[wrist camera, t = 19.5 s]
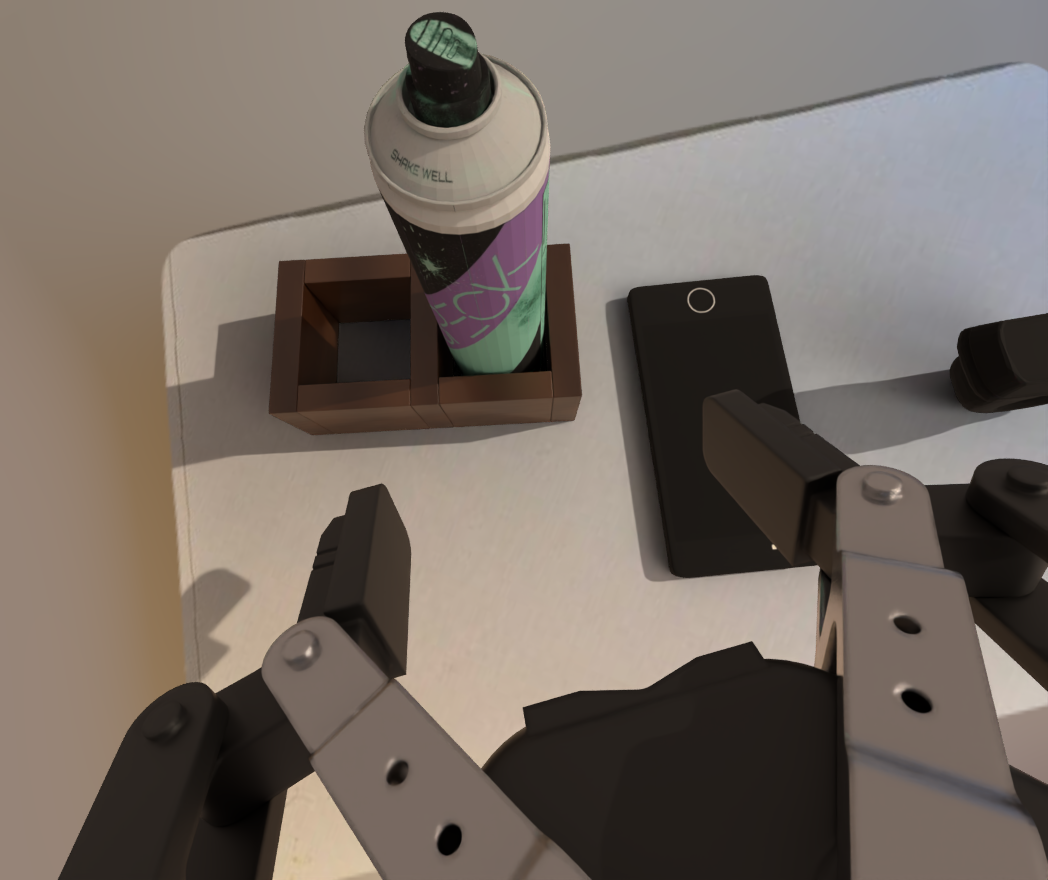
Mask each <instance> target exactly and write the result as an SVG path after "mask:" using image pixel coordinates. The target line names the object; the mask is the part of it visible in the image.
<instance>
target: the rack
mask: <svg viewBox="0 0 1048 880" xmlns="http://www.w3.org/2000/svg"><path fill="white" fill-rule="evenodd" d="M401 319H411V380H410V379H401V380H384V381H366V382H349V383H337V361H338V334H339V323H350V322H367V321H384V320H401ZM544 328H545V343H546V358H547V371H542V372H525V373H507V374H490V375H473V376H455V377H453V356H452V354H451V352H450V349H449V347H448V345H447V342H446V340H445V338H444V336H443V333H442V331H441V329H440V327H439V324H438V322H437V320H436V318H435V315H434V313H433V311H432V308H431V306H430V304H429V302H428V299H427V297H426V295H425V293H424V290H423V288H422V286H421V284H420V281H419V279H418V277H417V274H416V272H415V270H414V268H413V265H412V263H411V261H410V259H409V256H408V254H393V255H377V256H360V257H344V258H327V259H311V260H306V261H305V260H291V261H279V268H278V283H277V298H276V313H275V327H274V342H273V357H272V372H271V387H270V401H269V414H271V415H273V416H275V417H277V418H279V419H281V420H283V421H285V422H287V423H289V424H291V425H293V426H295V427H297V428H299V429H301V430H303V431H305V432H307V433H309V434H311V435H322V434H341V433H359V432H377V431H395V430H412V429H430V428H447V427H454V426H455V427H465V426H483V425H501V424H519V423H537V422H550V421H551V422H556V421H574V420H575V417H576V414H577V410H578V407H579V404H580V400H581V397H582V389H581V377H580V364H579V352H578V340H577V327H576V315H575V303H574V290H573V278H572V266H571V253H570V244H554V245H547V255H546V283H545V312H544Z"/></svg>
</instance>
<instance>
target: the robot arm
mask: <svg viewBox="0 0 1048 880" xmlns="http://www.w3.org/2000/svg"><path fill="white" fill-rule="evenodd" d="M703 455H704V459H705V462H706V464H707V467H708V469H709V470H710V472H711V473H712V474H713V476H714V477H715V478H716V479H717V480H718V481H719V482H720V484H721V485H722V486H723V487H724V488H725V489H726V490H727V492H728V493H729V494H730V495H731V496H732V497H733V498H734V500H735V501H736V502H737V503H738V504H739V505H740V507H741V508H742V509H743V510H744V511H745V512H746V513H747V515H748V516H749V517H750V518H751V519H752V520H753V521H754V523H755V524H756V525H757V526H758V527H759V528H760V529H761V531H762V532H763V533H764V534H765V535H766V536H767V537H768V539H769V540H770V541H771V542H772V543H773V544H774V546H775V547H776V548H777V549H778V550H779V551H780V552H781V554H782V555H783V556H784V557H785V558H786V559H787V560H788V562H789V563H790V564H791V565H792V566H796V565H800V564H803V563H807V562H811V561H814V562H815V563H816V564H817V565H818V566H819V567H820V572H819V577H818V601H817V630H816V653H815V663H814V667H813V666H809V665H806V664H802V663H797V662H792V661H787V660H777V659H764V658H763V657H762V655H761V654H760V652H759V651H758V649H757V648H756V646H755V645H754V643H753V642H752V641H751V642H748V643H744V644H741V645H737V646H734V647H730V648H727V649H723V650H720V651H717V652H713V653H710V654H706V655H703V656H699V657H696V658H695V659H693V660H691V661H690V662H688V663H687V664H685V665H683V666H682V667H680V668H678V669H677V670H675V671H674V672H672V673H670V674H669V675H667V676H666V677H664V678H662V679H661V680H659V681H658V682H656V683H654V684H653V685H651V686H649V687H647V688H645V689H639V690H600V691H578V692H574V693H571V694H567V695H564V696H561V697H557V698H554V699H550V700H547V701H543V702H540V703H536V704H533V705H529V706H526V707H523V712H524V718H525V724H526V727H524V728H523V729H521V730H520V731H518V732H517V733H515V734H514V735H513V736H511V737H510V738H509V739H508V740H506V741H505V742H504V743H503V744H502V745H501V746H500V747H499V748H498V749H497V750H496V751H495V752H494V753H493V754H492V755H491V757H490V758H489V759H488V761H487V762H486V763H485V764H484V766H483V767H482V768H480V767H479V766H478V765H477V764H476V763H475V762H474V761H473V760H472V759H471V758H470V757H469V756H468V755H467V754H466V753H465V752H464V751H463V749H462V748H461V747H460V746H459V745H458V744H457V743H456V742H455V741H454V740H453V739H452V738H451V737H450V736H449V735H448V734H447V733H446V732H445V730H444V729H443V728H442V727H441V726H440V725H439V724H438V723H437V722H436V721H435V720H434V719H433V718H432V717H431V716H430V715H429V714H428V713H427V711H426V710H425V709H424V708H423V707H422V706H421V705H420V704H419V703H418V702H417V701H416V700H415V699H414V698H413V697H412V696H411V695H410V694H409V693H408V691H407V690H406V689H405V688H404V687H403V686H402V685H401V684H400V683H399V682H398V681H397V680H396V679H394V678H396V677H399V676H403V675H406V664H407V641H408V617H409V594H410V570H411V547H410V541H409V537H408V534H407V531H406V528H405V526H404V524H403V522H402V520H401V518H400V515H399V513H398V511H397V509H396V507H395V505H394V502H393V500H392V498H391V496H390V494H389V492H388V490H387V488H386V486H385V485H384V484H378V485H375V486H371V487H367V488H363V489H360V490H356V491H352V492H351V493H350V496H349V500H348V504H347V509H346V513H345V515H343V516H339V517H336V518H334V519H333V520H332V521H331V523H330V524H329V526H328V527H327V528H326V530H325V531H324V532H323V534H322V535H321V538H320V542H319V545H318V549H317V556H315V560H314V563H313V570H312V571H311V574H310V578H309V581H308V585H307V589H306V592H305V596H304V599H303V603H302V607H301V610H300V614H299V617H298V621H297V624H295V625H293V626H292V627H290V628H289V629H287V630H286V631H285V632H284V633H282V634H281V635H280V636H279V637H278V638H277V639H276V640H275V642H274V643H273V644H272V645H271V647H270V648H269V650H268V651H267V653H266V655H265V658H264V660H263V664H262V667H261V668H260V669H258V670H256V671H255V672H253V673H251V674H250V675H248V676H246V677H244V678H242V679H241V680H239V681H237V682H235V683H233V684H232V685H230V686H228V687H226V688H224V689H223V690H221V691H219V692H217V693H214V692H213V691H212V690H211V689H210V688H209V687H208V686H207V685H206V684H203V683H200V682H191V683H186V684H183V685H180V686H178V687H175V688H173V689H172V690H170V691H168V692H166V693H165V694H163V695H162V696H160V697H159V698H157V699H156V700H155V701H154V702H153V703H151V704H150V705H149V706H148V707H147V708H146V709H145V710H144V711H143V712H142V713H141V714H140V715H139V716H138V717H137V719H136V720H135V721H134V722H133V724H132V725H131V727H130V728H129V730H128V731H127V733H126V735H125V737H124V739H123V741H122V743H121V745H120V747H119V750H118V752H117V754H116V756H115V758H114V760H113V762H112V765H111V767H110V769H109V771H108V773H107V775H106V777H105V780H104V782H103V784H102V786H101V788H100V790H99V793H98V795H97V797H96V799H95V801H94V803H93V805H92V808H91V810H90V812H89V814H88V816H87V818H86V820H85V823H84V825H83V827H82V829H81V831H80V833H79V835H78V837H77V840H76V842H75V844H74V846H73V848H72V851H71V853H70V855H69V857H68V859H67V861H66V864H65V865H64V868H63V870H62V872H61V874H60V876H59V878H58V880H272V877H273V872H274V866H275V860H276V854H277V848H278V842H279V836H280V830H281V824H282V818H283V813H284V807H285V801H286V795H287V789H288V788H289V787H291V786H293V785H294V784H296V783H297V782H299V781H300V780H302V779H303V778H305V777H306V776H308V775H310V774H311V773H313V772H314V771H315V772H316V773H317V775H318V777H319V778H320V780H321V781H322V783H323V785H324V786H325V788H326V789H327V791H328V793H329V794H330V796H331V797H332V799H333V801H334V802H335V804H336V805H337V807H338V809H339V810H340V812H341V813H342V815H343V817H344V818H345V820H346V821H347V823H348V825H349V826H350V828H351V830H352V831H353V833H354V834H355V836H356V838H357V839H358V841H359V842H360V844H361V846H362V847H363V849H364V850H365V852H366V854H367V855H368V857H369V858H370V860H371V862H372V863H373V865H374V866H375V868H376V870H377V871H378V873H379V874H380V876H381V878H382V879H383V880H1048V784H1046V783H1044V782H1042V781H1040V780H1038V779H1036V778H1034V777H1032V776H1030V775H1028V774H1026V773H1025V772H1022V771H1021V770H1019V769H1017V768H1015V767H1013V766H1011V765H1009V764H1008V761H1007V756H1006V752H1005V748H1004V744H1003V740H1002V735H1001V731H1000V727H999V723H998V719H997V715H996V710H995V706H994V702H993V698H992V694H991V689H990V685H989V681H988V677H987V673H986V669H985V664H984V660H983V656H982V652H981V648H980V644H979V639H978V635H977V631H976V627H975V624H976V625H978V626H979V627H980V628H981V629H982V630H983V631H984V632H985V633H986V634H987V635H988V636H989V637H990V638H991V639H992V640H993V641H994V642H996V643H997V644H998V645H999V646H1000V647H1001V648H1002V649H1003V650H1004V651H1005V652H1006V653H1007V654H1008V655H1009V656H1010V657H1011V658H1013V659H1014V660H1015V661H1016V662H1017V663H1018V664H1019V665H1020V666H1021V667H1022V668H1023V669H1024V670H1025V671H1026V672H1027V673H1028V674H1030V675H1031V676H1032V677H1033V678H1034V679H1035V680H1036V681H1037V682H1038V683H1039V684H1040V685H1041V686H1042V687H1043V688H1044V689H1045V690H1047V691H1048V582H1046V581H1045V580H1044V579H1042V576H1043V574H1044V572H1045V570H1046V569H1047V567H1048V465H1045V464H1042V463H1038V462H1034V461H1028V460H1021V459H995V460H990V461H986V462H984V463H982V464H980V465H979V466H978V467H977V468H976V469H975V471H974V474H973V477H972V479H971V482H970V484H947V485H924V484H922V483H921V482H920V481H919V480H918V479H916V478H915V477H913V476H911V475H910V474H908V473H905V472H903V471H900V470H897V469H894V468H890V467H885V466H877V465H863V466H860V465H858V464H857V463H856V462H854V461H853V460H852V459H850V458H849V457H848V456H846V455H845V454H844V453H842V452H841V451H839V450H838V449H837V448H835V447H834V446H833V445H831V444H830V443H829V442H827V441H826V440H824V439H823V438H822V437H820V436H819V435H818V434H814V433H813V431H812V430H811V429H809V428H808V427H807V426H805V425H804V424H802V425H801V423H800V421H799V420H797V419H796V418H795V417H793V416H792V415H790V414H789V413H788V412H786V411H785V410H782V409H779V408H777V407H774V406H771V405H768V404H765V403H761V404H757V403H756V402H754V401H753V400H752V399H750V398H749V397H748V396H747V395H745V394H744V393H743V392H741V391H740V390H737V389H735V390H731V391H727V392H724V393H720V394H716V395H713V396H709V397H706V398H705V399H704V401H703Z"/></svg>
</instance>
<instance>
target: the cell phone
mask: <svg viewBox="0 0 1048 880" xmlns="http://www.w3.org/2000/svg"><path fill="white" fill-rule="evenodd" d="M627 302H628V307H629V313H630V319H631V325H632V332H633V338H634V344H635V351H636V357H637V363H638V370H639V376H640V382H641V389H642V395H643V402H644V408H645V414H646V421H647V427H648V433H649V440H650V446H651V452H652V459H653V465H654V471H655V478H656V484H657V490H658V497H659V503H660V509H661V516H662V522H663V529H664V535H665V541H666V548H667V554H668V562H669V568H670V571H671V573H672V574H673V575H675V576H678V577H683V578H693V577H703V576H713V575H723V574H734V573H744V572H754V571H764V570H774V569H785V568H795V567H805V566H815V565H817V564H816V563H815V562H814V561H811V562H807V563H803V564H800V565H796V566H792V565H791V564H790V563H789V562H788V560H787V559H786V558H785V557H784V556H783V555H782V554H781V552H780V551H779V550H778V549H777V548H776V547H775V546H774V544H773V543H772V542H771V541H770V540H769V539H768V537H767V536H766V535H765V534H764V533H763V532H762V531H761V529H760V528H759V527H758V526H757V525H756V524H755V523H754V521H753V520H752V519H751V518H750V517H749V516H748V515H747V513H746V512H745V511H744V510H743V509H742V508H741V507H740V505H739V504H738V503H737V502H736V501H735V500H734V498H733V497H732V496H731V495H730V494H729V493H728V492H727V490H726V489H725V488H724V487H723V486H722V485H721V484H720V482H719V481H718V480H717V479H716V478H715V477H714V476H713V474H712V473H711V472H710V470H709V469H708V467H707V464H706V462H705V459H704V455H703V401H704V399H705V398H706V397H709V396H713V395H716V394H720V393H724V392H727V391H731V390H735V389H737V390H740V391H741V392H743V393H744V394H745V395H747V396H748V397H749V398H750V399H752V400H753V401H754V402H756V403H757V404H761V403H765V404H768V405H771V406H774V407H777V408H779V409H782V410H785V411H786V412H788V413H789V414H790V415H792V416H793V417H795V418H796V419H797V420H799V421H800V419H799V415H798V410H797V406H796V402H795V397H794V393H793V389H792V384H791V380H790V376H789V371H788V367H787V363H786V358H785V354H784V350H783V345H782V341H781V337H780V332H779V328H778V324H777V319H776V315H775V311H774V306H773V302H772V298H771V293H770V289H769V285H768V281H767V279H766V278H765V277H763V276H759V275H752V276H742V277H732V278H722V279H712V280H702V281H692V282H682V283H672V284H663V285H653V286H643V287H637V288H634V289H632V290H630V292H629V295H628V298H627Z"/></svg>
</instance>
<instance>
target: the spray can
mask: <svg viewBox="0 0 1048 880" xmlns="http://www.w3.org/2000/svg"><path fill="white" fill-rule="evenodd" d="M405 46H406V51H407V58H408V61H409V63H408V64H407V65H406V66H405V67H404V68H403V69H402V70H400V71H398V72H397V73H395V74H394V75H393V76H392V77H391V78H390V79H389V80H388V81H387V82H386V83H385V84H384V85H383V86H382V87H381V88H380V90H379V91H378V93H377V94H376V96H375V97H374V98H373V100H372V103H371V105H370V107H369V110H368V112H367V116H366V121H365V126H364V132H365V133H364V134H365V145H366V149H367V152H368V156H369V158H370V164H371V168H372V172H373V175H374V179H375V181H376V184H377V186H378V188H379V191H380V193H381V195H382V197H383V200H384V202H385V204H386V206H387V209H388V211H389V213H390V215H391V218H392V220H393V222H394V225H395V227H396V229H397V231H398V234H399V236H400V238H401V240H402V243H403V245H404V247H405V249H406V252H407V254H408V256H409V259H410V261H411V263H412V265H413V268H414V270H415V272H416V274H417V277H418V279H419V281H420V284H421V286H422V288H423V290H424V293H425V295H426V297H427V299H428V302H429V304H430V306H431V308H432V311H433V313H434V315H435V318H436V320H437V322H438V324H439V327H440V329H441V331H442V333H443V336H444V338H445V340H446V342H447V345H448V347H449V349H450V352H451V354H452V356H453V358H454V361H455V363H456V365H457V367H458V370H459V372H460V374H461V376H473V375H490V374H507V373H525V372H540V370H541V367H542V361H543V341H544V312H545V283H546V255H547V226H548V197H549V168H550V140H549V132H548V128H547V117H546V109H545V106H544V103H543V101H542V98H541V96H540V93H539V92H538V90H537V89H536V88H535V86H534V85H533V83H532V82H531V81H530V80H529V79H528V78H527V77H526V76H525V75H524V74H523V73H522V72H521V71H520V70H518V69H516V68H515V67H513V66H512V65H510V64H509V63H507V62H505V61H503V60H500V59H498V58H495V57H493V56H490V55H485V54H480V53H479V52H478V49H477V43H476V39H475V36H474V33H473V31H472V29H471V27H470V26H469V25H468V23H467V22H465V20H463V19H462V18H461V17H459V16H457V15H455V14H451V13H444V12H436V13H429V14H426V15H423V16H422V17H420V18H418V19H417V20H416V21H415V22H414V23H412V24H411V26H410V27H409V29H408V31H407V33H406V37H405Z"/></svg>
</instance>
